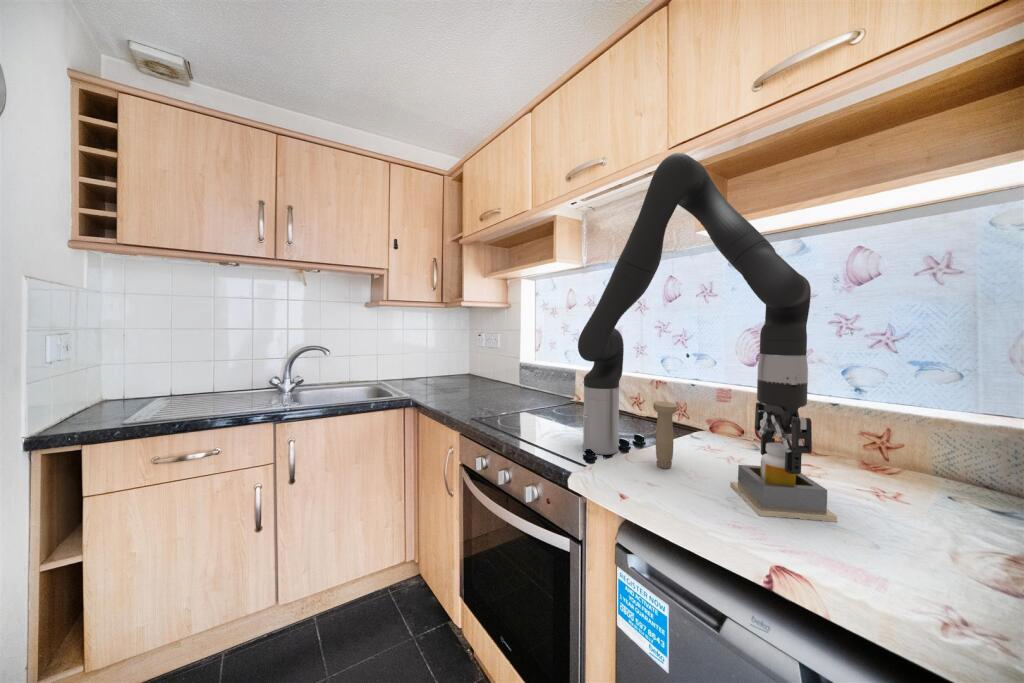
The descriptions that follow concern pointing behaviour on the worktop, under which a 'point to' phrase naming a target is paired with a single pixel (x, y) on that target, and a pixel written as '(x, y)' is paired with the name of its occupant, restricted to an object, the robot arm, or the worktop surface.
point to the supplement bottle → (775, 465)
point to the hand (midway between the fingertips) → (779, 464)
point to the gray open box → (783, 496)
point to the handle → (664, 433)
